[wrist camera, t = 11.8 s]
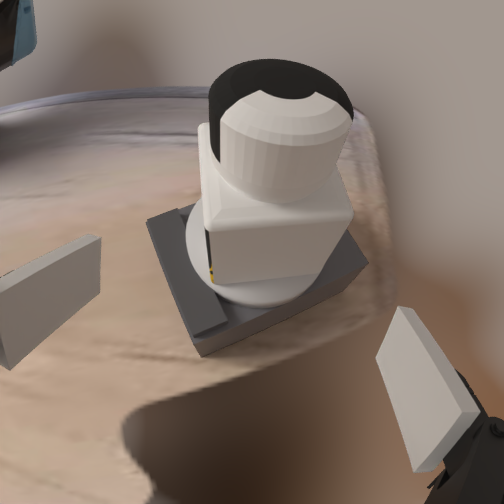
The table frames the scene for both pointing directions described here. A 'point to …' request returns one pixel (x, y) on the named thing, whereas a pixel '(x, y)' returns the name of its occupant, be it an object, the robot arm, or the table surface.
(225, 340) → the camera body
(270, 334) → the table surface
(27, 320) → the robot arm
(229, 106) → the medicine bottle
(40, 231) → the table surface
